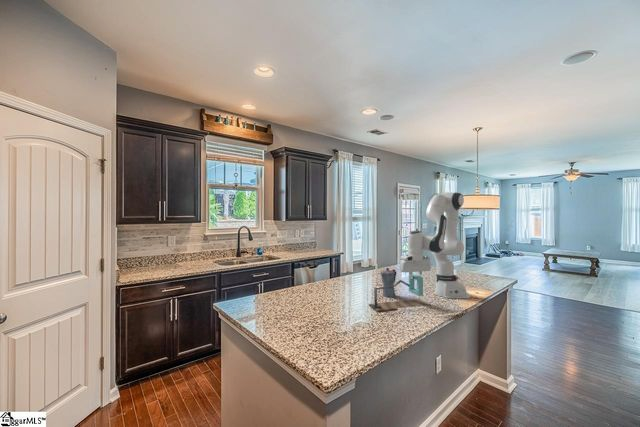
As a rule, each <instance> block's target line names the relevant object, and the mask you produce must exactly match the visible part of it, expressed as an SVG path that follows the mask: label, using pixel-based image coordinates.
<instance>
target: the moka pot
mask: <svg viewBox="0 0 640 427" xmlns="http://www.w3.org/2000/svg"><path fill="white" fill-rule="evenodd" d="M380 277H381V282H382V285H383V286H382V287H389V286H393V285H394V284H395V283H396V277H397V271H396V270H395V268H393V269H389V268H388V267H386V270H382V271H381V272H380ZM382 296H383V297H385V298H395V297H396V291H395V287H393V288H389V289H382Z"/></svg>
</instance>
